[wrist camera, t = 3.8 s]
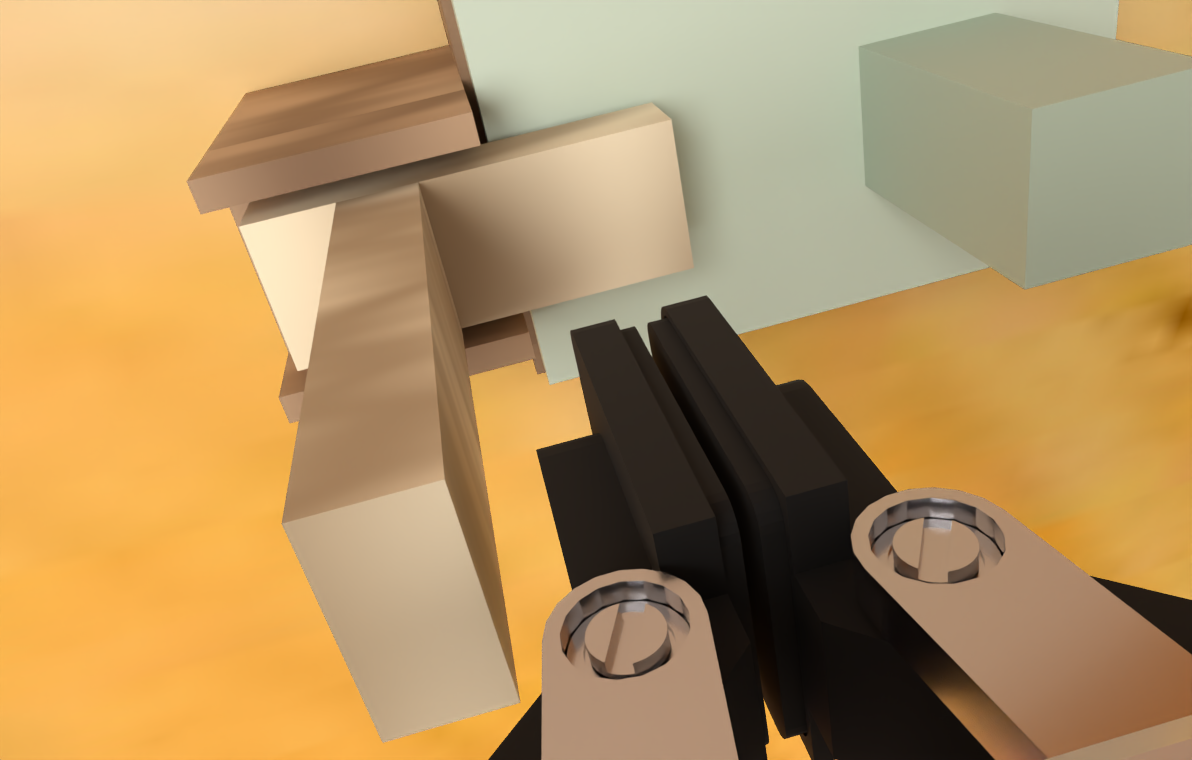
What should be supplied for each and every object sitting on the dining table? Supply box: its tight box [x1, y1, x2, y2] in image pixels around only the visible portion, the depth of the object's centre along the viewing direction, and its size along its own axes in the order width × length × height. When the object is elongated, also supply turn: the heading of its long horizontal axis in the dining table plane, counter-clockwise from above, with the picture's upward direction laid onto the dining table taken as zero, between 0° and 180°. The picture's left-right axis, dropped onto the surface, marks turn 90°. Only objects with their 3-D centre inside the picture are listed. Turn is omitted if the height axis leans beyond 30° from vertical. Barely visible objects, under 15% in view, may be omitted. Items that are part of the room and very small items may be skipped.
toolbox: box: [187, 0, 546, 423], centre depth 21 cm, size 19×9×8 cm, turn 101°
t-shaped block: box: [239, 102, 694, 743], centre depth 14 cm, size 8×3×11 cm, turn 101°
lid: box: [451, 0, 1192, 385], centre depth 18 cm, size 14×9×7 cm, turn 101°
